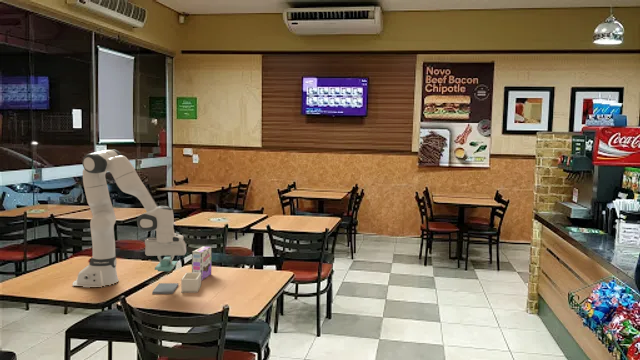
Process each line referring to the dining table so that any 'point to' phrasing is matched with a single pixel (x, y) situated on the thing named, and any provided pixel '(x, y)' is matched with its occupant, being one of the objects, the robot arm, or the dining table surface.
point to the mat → (165, 288)
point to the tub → (191, 283)
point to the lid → (165, 264)
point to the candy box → (202, 261)
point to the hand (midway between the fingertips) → (166, 263)
